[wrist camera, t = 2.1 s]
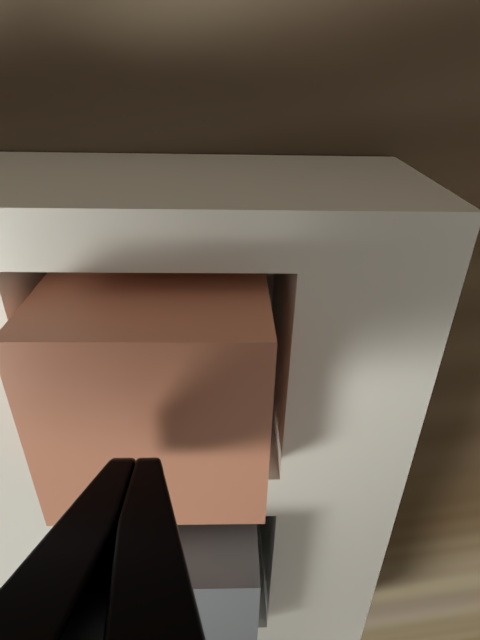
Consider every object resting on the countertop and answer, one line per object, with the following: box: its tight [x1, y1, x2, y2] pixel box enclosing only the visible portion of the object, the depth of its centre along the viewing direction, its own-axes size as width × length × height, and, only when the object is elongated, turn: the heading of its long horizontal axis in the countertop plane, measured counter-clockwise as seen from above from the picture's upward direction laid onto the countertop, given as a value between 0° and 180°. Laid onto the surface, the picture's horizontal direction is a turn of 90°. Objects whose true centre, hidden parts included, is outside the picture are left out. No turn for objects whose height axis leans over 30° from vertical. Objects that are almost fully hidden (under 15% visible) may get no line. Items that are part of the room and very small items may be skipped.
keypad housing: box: [0, 152, 480, 640], centre depth 15 cm, size 22×15×7 cm
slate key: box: [177, 524, 261, 640], centre depth 14 cm, size 5×5×4 cm
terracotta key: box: [0, 272, 278, 526], centre depth 10 cm, size 5×5×4 cm
